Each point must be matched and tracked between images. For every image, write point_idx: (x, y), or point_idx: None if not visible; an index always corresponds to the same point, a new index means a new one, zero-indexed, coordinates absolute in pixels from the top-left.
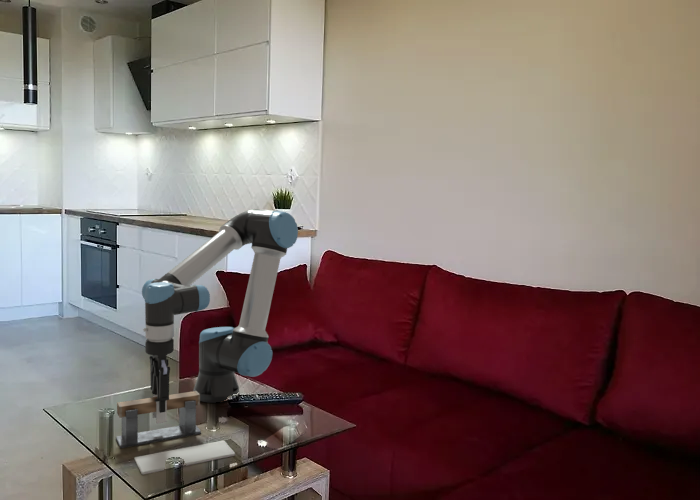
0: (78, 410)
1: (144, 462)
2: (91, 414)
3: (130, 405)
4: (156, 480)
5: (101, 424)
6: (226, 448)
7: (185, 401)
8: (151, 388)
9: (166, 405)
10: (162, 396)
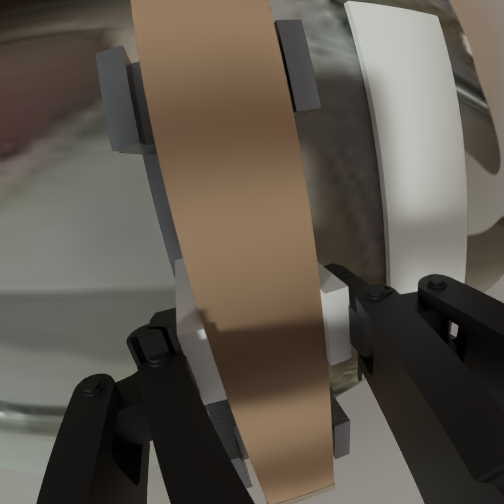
0: (5, 464)
1: None
2: (19, 447)
3: (332, 463)
4: (487, 247)
5: None
6: (408, 20)
7: (299, 103)
8: (147, 445)
9: (325, 268)
10: (463, 337)
